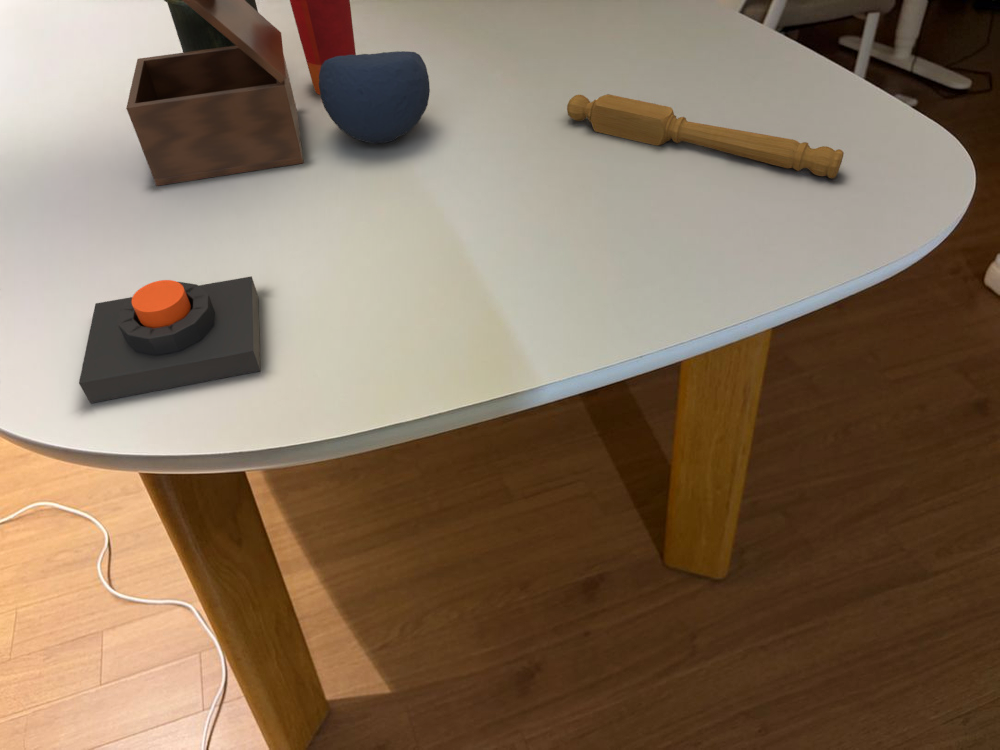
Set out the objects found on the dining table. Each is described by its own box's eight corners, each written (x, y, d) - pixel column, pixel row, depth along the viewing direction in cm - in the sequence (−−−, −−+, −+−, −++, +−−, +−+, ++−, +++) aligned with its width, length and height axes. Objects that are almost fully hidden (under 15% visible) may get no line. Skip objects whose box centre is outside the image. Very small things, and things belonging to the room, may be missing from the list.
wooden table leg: (839, 157, 77) (562, 98, 89) (831, 185, 80) (562, 123, 91) (847, 143, 79) (575, 87, 91) (839, 171, 81) (574, 112, 93)
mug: (203, 111, 98) (171, 9, 90) (178, 70, 107) (146, -26, 99) (289, 89, 101) (265, -11, 93) (256, 51, 111) (232, -43, 102)
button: (137, 332, 62) (128, 315, 61) (141, 301, 65) (133, 284, 64) (189, 323, 63) (182, 306, 61) (191, 293, 65) (185, 275, 64)
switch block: (90, 403, 62) (68, 365, 59) (105, 323, 69) (86, 286, 66) (260, 371, 64) (247, 333, 61) (258, 296, 71) (246, 258, 68)
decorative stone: (449, 147, 89) (441, 57, 82) (345, 172, 86) (327, 81, 79) (416, 104, 96) (406, 19, 90) (319, 126, 94) (301, 40, 87)
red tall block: (375, 75, 103) (357, -42, 93) (354, 102, 98) (332, -19, 88) (319, 72, 105) (295, -44, 95) (295, 98, 99) (267, -21, 89)
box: (156, 186, 85) (126, 107, 79) (164, 132, 94) (137, 58, 88) (303, 163, 87) (284, 85, 81) (297, 113, 96) (280, 39, 90)
